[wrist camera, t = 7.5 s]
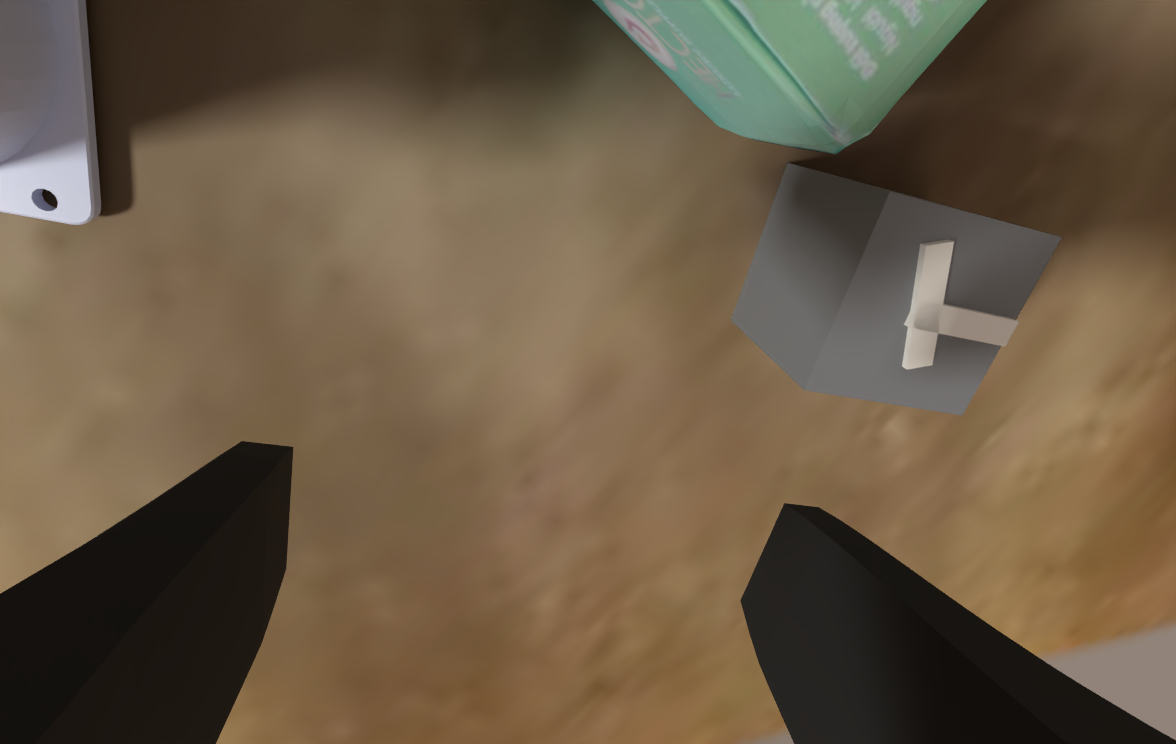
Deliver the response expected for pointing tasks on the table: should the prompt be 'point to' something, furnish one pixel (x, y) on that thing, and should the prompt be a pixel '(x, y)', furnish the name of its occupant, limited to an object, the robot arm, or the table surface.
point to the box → (793, 59)
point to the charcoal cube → (885, 291)
